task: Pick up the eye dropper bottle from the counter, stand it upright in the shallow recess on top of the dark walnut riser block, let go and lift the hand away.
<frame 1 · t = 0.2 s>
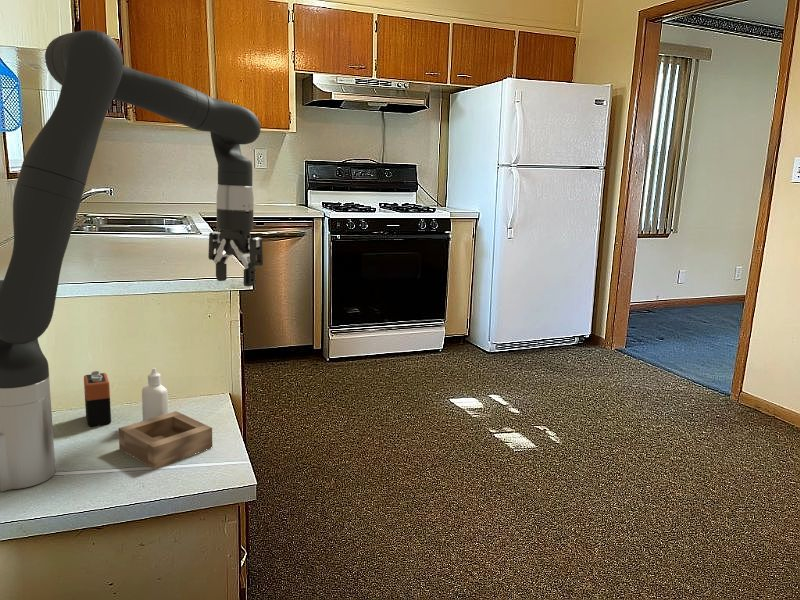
hand: (234, 283, 133), 28 cm above the counter, tool pointing down, fingers open, 8 cm apart
eye dropper bottle: (155, 424, 128), on the counter
battery: (98, 420, 129), on the counter
walnut block: (166, 450, 117), on the counter
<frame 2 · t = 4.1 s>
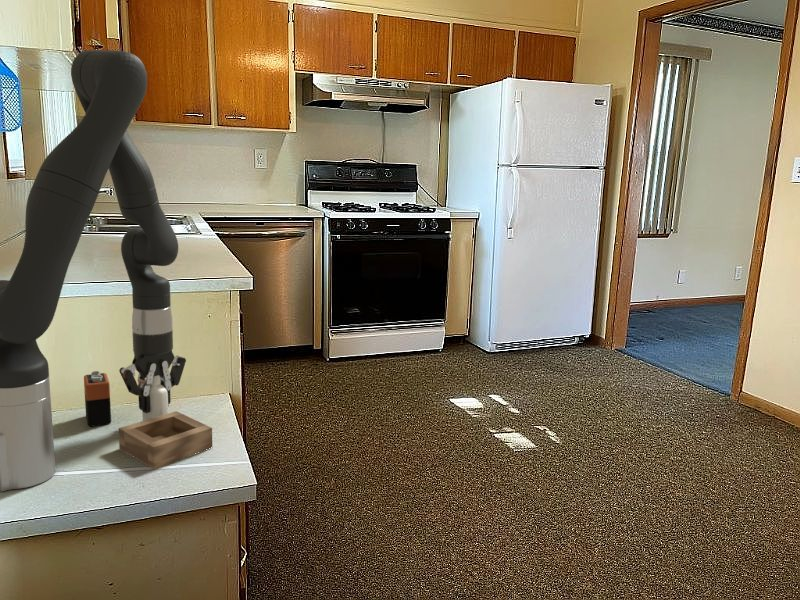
hand: (155, 408, 127), 3 cm above the counter, tool pointing down, fingers closed on eye dropper bottle, 3 cm apart
eye dropper bottle: (155, 424, 128), on the counter, touching gripper
everything else where it was.
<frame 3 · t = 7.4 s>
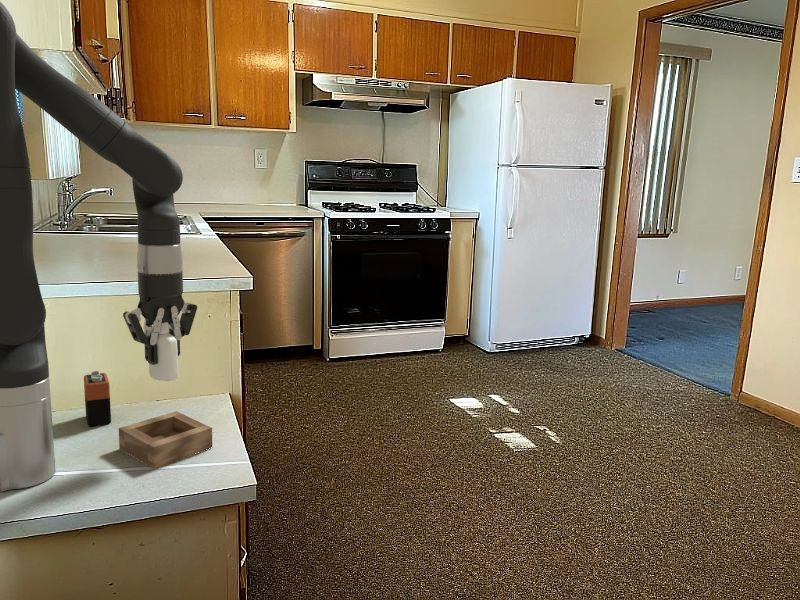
hand: (163, 360, 114), 17 cm above the counter, tool pointing down, fingers closed on eye dropper bottle, 3 cm apart
eye dropper bottle: (164, 378, 114), point 14 cm above the counter, touching gripper
everything else where it was.
when the fingers open (5 cm above the counter, at t = 11.0 s): eye dropper bottle stays where it is, resting on walnut block.
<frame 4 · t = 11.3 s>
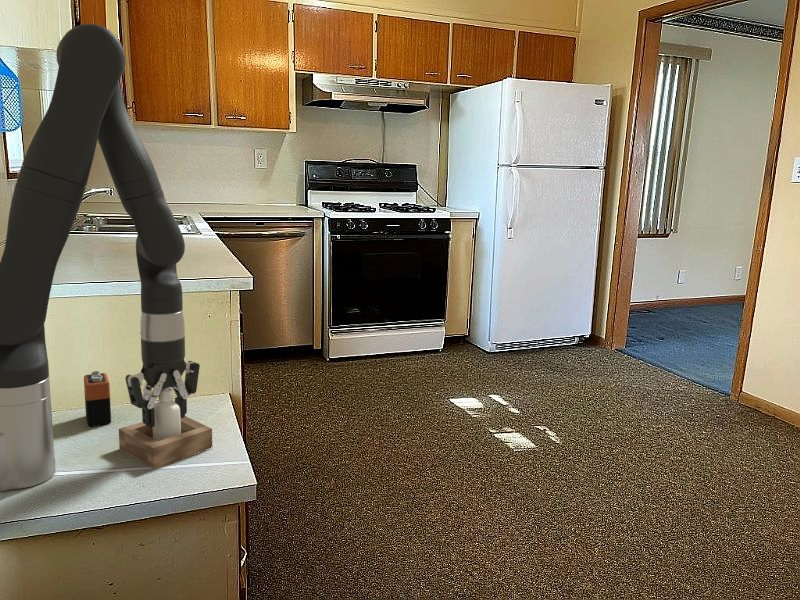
hand: (165, 421, 116), 6 cm above the counter, tool pointing down, fingers open, 5 cm apart
eye dropper bottle: (167, 444, 117), point 1 cm above the counter, touching walnut block
walnut block: (166, 451, 117), on the counter, touching eye dropper bottle
everything else where it was.
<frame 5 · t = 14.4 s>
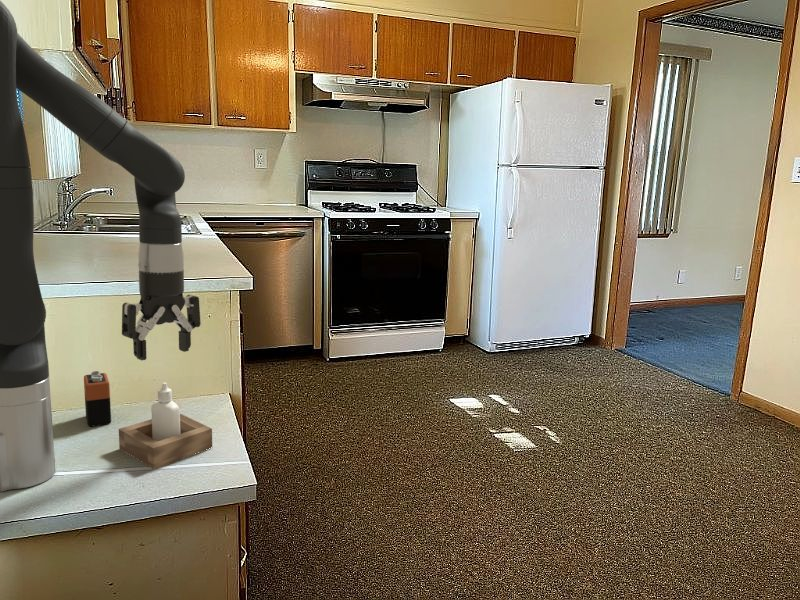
hand: (163, 354, 113), 18 cm above the counter, tool pointing down, fingers open, 8 cm apart
nothing on the counter moved.
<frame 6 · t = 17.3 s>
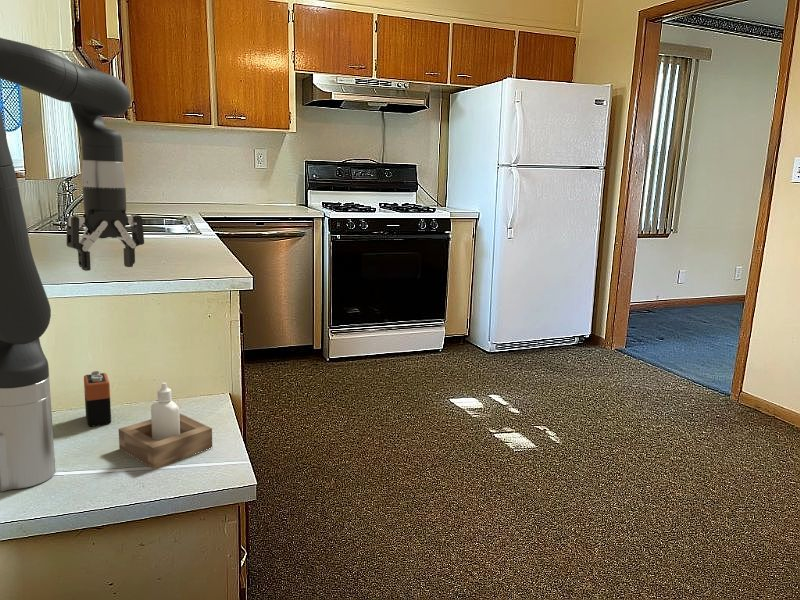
hand: (108, 268, 122), 32 cm above the counter, tool pointing down, fingers open, 8 cm apart
nothing on the counter moved.
at the end: eye dropper bottle 0.1 cm off-centre on the walnut block, point 1.3 cm above the walnut block's base; eye dropper bottle tilted 1°; the gripper is holding nothing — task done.
